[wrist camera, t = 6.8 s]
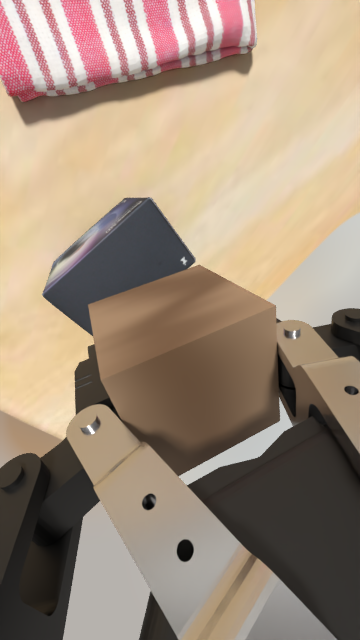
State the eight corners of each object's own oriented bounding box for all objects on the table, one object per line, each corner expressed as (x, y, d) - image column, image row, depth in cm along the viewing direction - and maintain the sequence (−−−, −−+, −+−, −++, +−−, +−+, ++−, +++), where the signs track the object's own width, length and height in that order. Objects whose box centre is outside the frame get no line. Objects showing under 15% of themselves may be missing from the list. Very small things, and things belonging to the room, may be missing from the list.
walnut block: (199, 264, 11) (275, 305, 7) (216, 352, 14) (279, 420, 10) (88, 304, 10) (100, 380, 6) (127, 391, 13) (156, 488, 9)
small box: (124, 192, 26) (150, 190, 17) (163, 242, 30) (201, 261, 21) (48, 261, 26) (36, 294, 18) (95, 303, 30) (105, 348, 21)
